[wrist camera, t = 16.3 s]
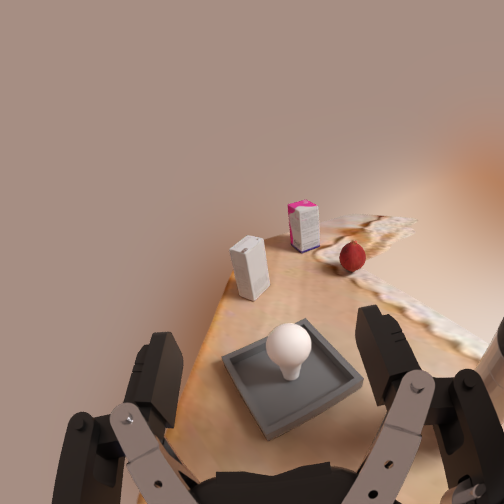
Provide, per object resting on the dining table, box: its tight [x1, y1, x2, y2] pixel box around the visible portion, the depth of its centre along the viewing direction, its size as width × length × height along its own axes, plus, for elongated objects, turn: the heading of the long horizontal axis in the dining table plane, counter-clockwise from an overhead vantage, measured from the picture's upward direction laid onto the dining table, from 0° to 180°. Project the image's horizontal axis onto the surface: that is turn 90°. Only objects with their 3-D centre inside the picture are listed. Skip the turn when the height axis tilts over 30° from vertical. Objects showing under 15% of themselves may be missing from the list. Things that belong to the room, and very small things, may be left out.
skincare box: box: [229, 235, 270, 301], centre depth 59 cm, size 6×4×12 cm
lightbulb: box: [266, 323, 311, 381], centre depth 39 cm, size 6×6×11 cm
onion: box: [339, 240, 366, 272], centre depth 60 cm, size 6×6×8 cm
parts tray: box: [222, 318, 364, 441], centre depth 41 cm, size 16×16×2 cm
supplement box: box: [288, 200, 320, 253], centre depth 72 cm, size 6×6×12 cm
